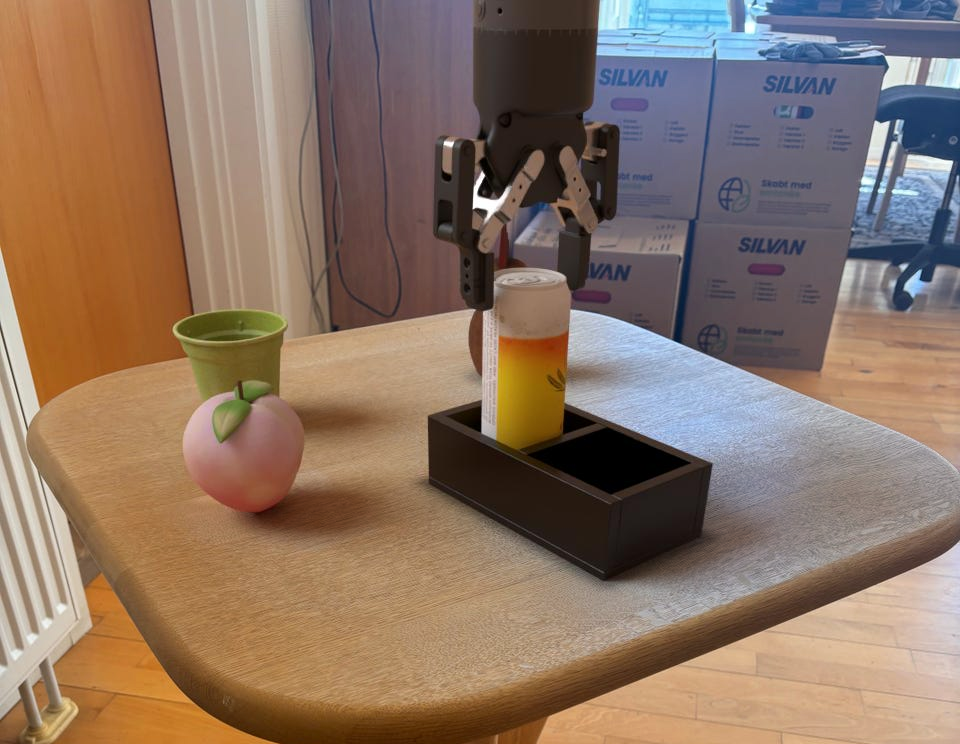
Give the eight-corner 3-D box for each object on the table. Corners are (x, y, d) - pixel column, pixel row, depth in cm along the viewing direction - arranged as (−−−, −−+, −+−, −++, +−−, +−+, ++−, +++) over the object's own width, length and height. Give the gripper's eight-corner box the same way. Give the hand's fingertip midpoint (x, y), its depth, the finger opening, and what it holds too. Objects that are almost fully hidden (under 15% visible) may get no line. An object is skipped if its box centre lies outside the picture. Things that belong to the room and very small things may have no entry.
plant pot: (219, 452, 81) (204, 348, 76) (171, 419, 87) (154, 320, 82) (317, 426, 86) (308, 327, 81) (264, 396, 92) (253, 302, 87)
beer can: (575, 485, 74) (589, 282, 65) (506, 502, 71) (512, 293, 63) (532, 456, 78) (541, 262, 70) (466, 471, 76) (467, 272, 67)
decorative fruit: (211, 484, 76) (191, 357, 70) (316, 485, 76) (305, 358, 70) (179, 541, 68) (154, 404, 62) (297, 543, 68) (282, 406, 62)
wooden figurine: (510, 392, 93) (516, 226, 85) (459, 381, 96) (459, 218, 87) (542, 372, 98) (550, 213, 90) (493, 362, 100) (496, 206, 92)
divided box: (523, 454, 81) (526, 386, 78) (701, 538, 69) (713, 463, 66) (428, 485, 76) (427, 415, 73) (603, 583, 64) (611, 503, 61)
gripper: (485, 25, 52) (482, 330, 61) (662, 20, 59) (636, 292, 69) (402, 20, 57) (411, 304, 66) (576, 17, 64) (563, 271, 73)
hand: (526, 298), depth 67 cm, fingers open, 8 cm apart
